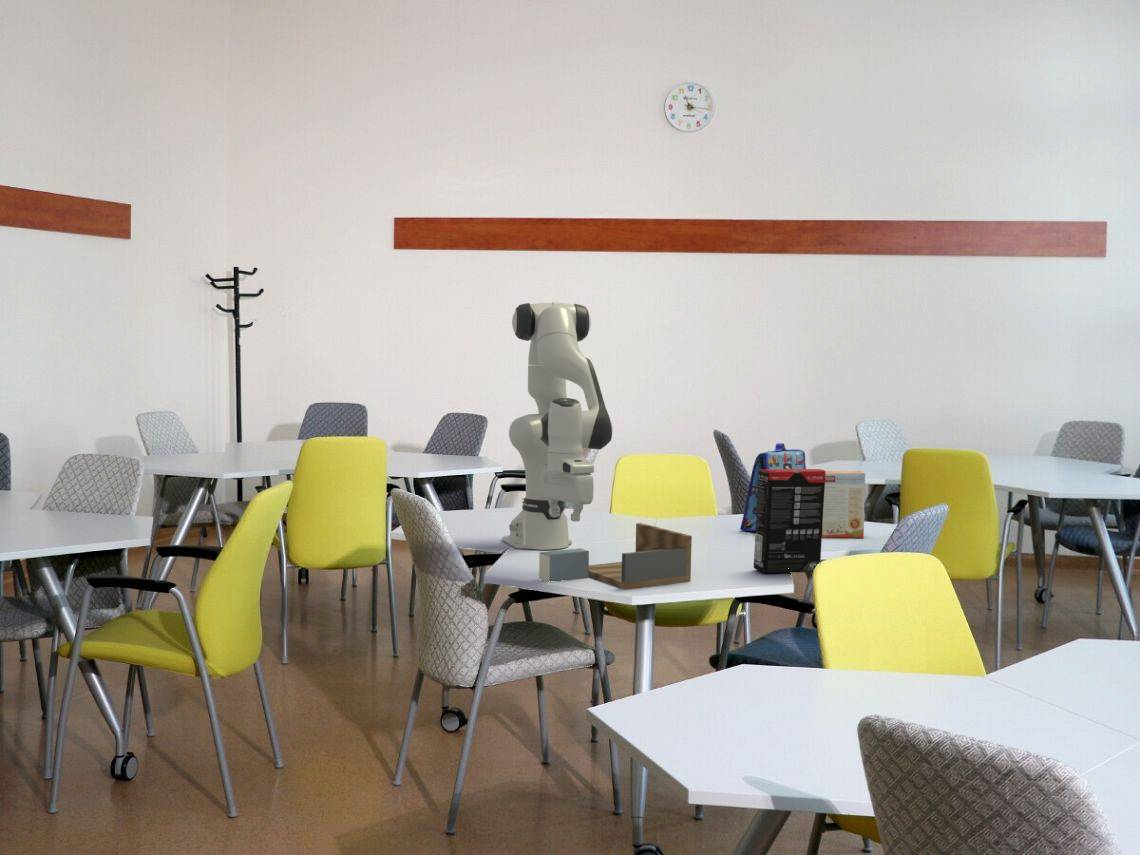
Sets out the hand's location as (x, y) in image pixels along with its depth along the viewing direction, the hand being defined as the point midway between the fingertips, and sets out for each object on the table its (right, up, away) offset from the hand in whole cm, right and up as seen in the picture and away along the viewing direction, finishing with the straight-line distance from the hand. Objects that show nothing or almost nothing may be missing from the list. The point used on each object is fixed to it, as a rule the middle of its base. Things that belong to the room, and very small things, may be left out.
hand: (565, 518), depth 261 cm
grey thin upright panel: (+22, -14, -4) cm, 27 cm away
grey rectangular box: (0, -15, +1) cm, 15 cm away
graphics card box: (+59, -16, +15) cm, 63 cm away
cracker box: (+87, -12, +71) cm, 113 cm away
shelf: (+17, -15, +5) cm, 23 cm away
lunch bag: (+69, -11, +81) cm, 107 cm away
